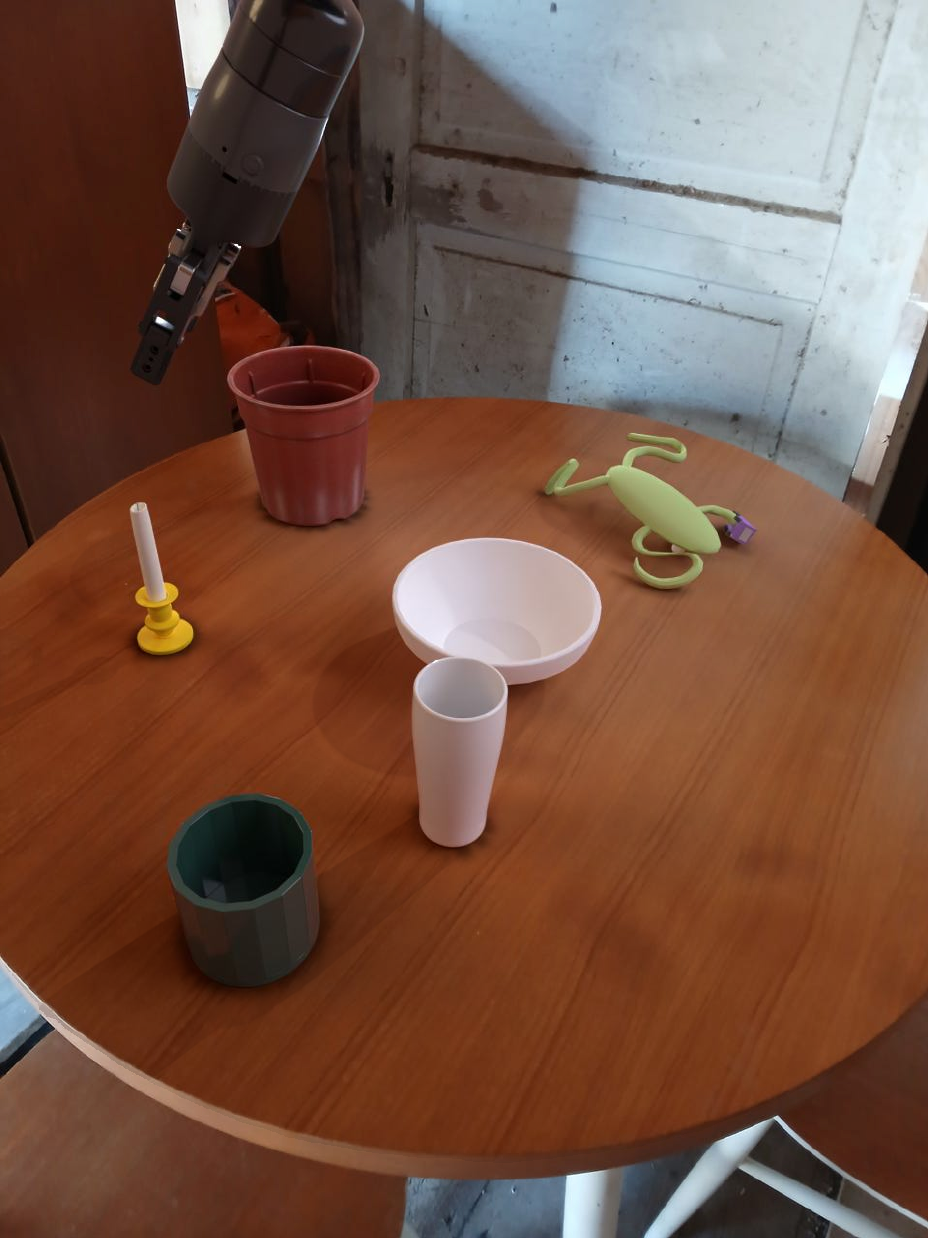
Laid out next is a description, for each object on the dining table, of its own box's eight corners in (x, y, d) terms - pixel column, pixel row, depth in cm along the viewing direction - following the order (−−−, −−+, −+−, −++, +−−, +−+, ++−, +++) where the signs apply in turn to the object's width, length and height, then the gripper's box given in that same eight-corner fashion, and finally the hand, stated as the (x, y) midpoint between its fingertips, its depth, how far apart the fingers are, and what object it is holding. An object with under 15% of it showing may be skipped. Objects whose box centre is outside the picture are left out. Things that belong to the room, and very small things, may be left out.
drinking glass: (507, 808, 74) (523, 673, 64) (473, 871, 69) (485, 734, 59) (433, 779, 76) (438, 644, 66) (394, 838, 71) (394, 701, 61)
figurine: (650, 456, 122) (658, 418, 118) (786, 562, 103) (800, 521, 100) (531, 482, 115) (535, 442, 111) (653, 600, 97) (663, 557, 93)
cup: (213, 1012, 59) (194, 935, 54) (170, 905, 65) (149, 826, 60) (341, 949, 63) (335, 871, 58) (289, 853, 69) (280, 775, 64)
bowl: (453, 572, 99) (455, 517, 94) (620, 632, 92) (631, 575, 88) (352, 675, 85) (350, 616, 81) (540, 754, 79) (549, 695, 74)
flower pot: (222, 486, 111) (204, 360, 101) (342, 455, 118) (336, 335, 108) (278, 553, 100) (265, 420, 90) (406, 514, 108) (407, 387, 98)
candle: (146, 662, 85) (114, 523, 76) (131, 630, 89) (98, 494, 79) (200, 645, 88) (175, 508, 78) (184, 615, 91) (158, 480, 81)
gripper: (219, 87, 61) (142, 285, 71) (158, 145, 51) (77, 369, 60) (319, 152, 64) (231, 335, 73) (280, 221, 53) (184, 424, 63)
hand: (162, 350), depth 67 cm, fingers open, 8 cm apart
